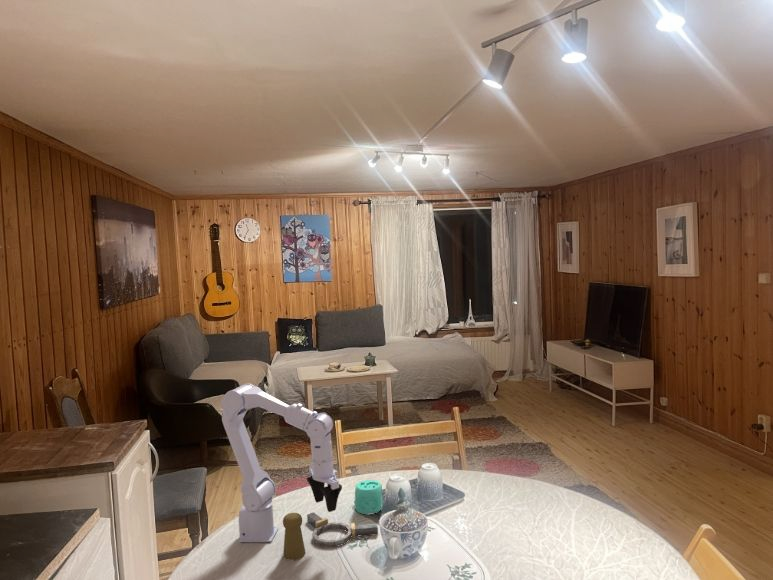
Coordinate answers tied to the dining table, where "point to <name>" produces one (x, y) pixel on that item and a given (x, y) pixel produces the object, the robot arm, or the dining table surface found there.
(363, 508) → the teal tapered cylinder
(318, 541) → the grey handled ring
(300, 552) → the olive tapered pawn
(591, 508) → the dining table surface
